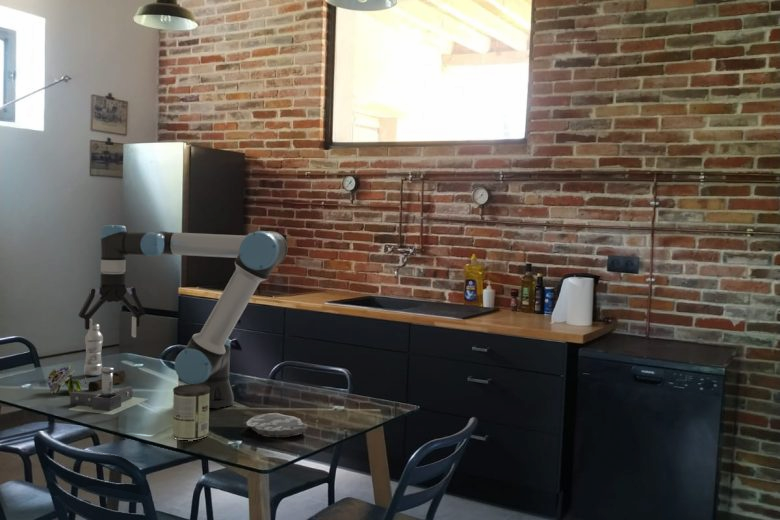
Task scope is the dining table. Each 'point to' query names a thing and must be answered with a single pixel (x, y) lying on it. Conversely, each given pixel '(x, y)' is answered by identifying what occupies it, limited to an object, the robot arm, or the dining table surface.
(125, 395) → the bolted dark bar
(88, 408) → the mat
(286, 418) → the brain slice
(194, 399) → the coffee can
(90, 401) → the hinge base
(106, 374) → the hinge pin
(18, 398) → the dining table surface
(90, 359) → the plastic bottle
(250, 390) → the dining table surface
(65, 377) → the passion flower
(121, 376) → the hand tool
